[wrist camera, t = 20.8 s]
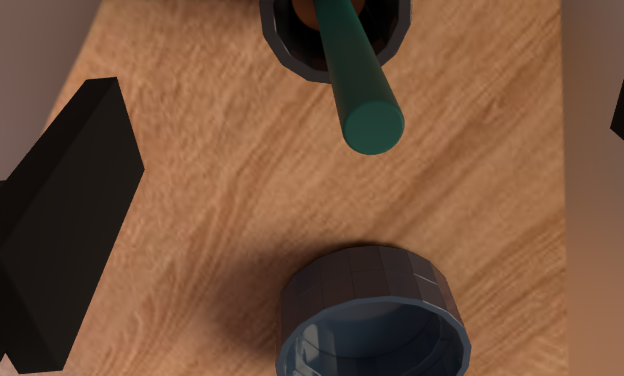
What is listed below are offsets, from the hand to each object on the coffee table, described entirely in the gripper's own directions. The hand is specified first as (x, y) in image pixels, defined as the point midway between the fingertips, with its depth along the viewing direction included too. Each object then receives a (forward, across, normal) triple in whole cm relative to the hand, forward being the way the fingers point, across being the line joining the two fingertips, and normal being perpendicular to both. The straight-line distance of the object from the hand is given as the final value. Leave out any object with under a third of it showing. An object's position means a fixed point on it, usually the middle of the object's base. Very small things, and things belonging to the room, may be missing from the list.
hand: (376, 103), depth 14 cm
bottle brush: (+18, 0, -1) cm, 18 cm away
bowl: (+18, +2, -28) cm, 34 cm away
